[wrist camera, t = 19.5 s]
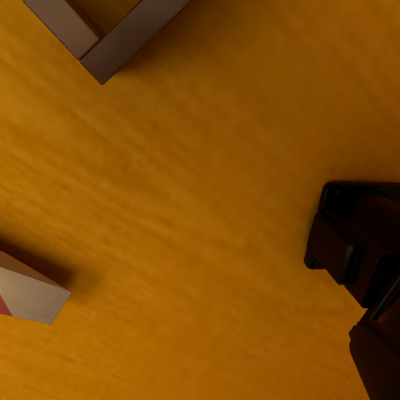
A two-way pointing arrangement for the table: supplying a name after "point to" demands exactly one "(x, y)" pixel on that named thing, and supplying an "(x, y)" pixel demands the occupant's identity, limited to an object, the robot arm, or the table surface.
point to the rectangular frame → (96, 40)
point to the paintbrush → (28, 292)
